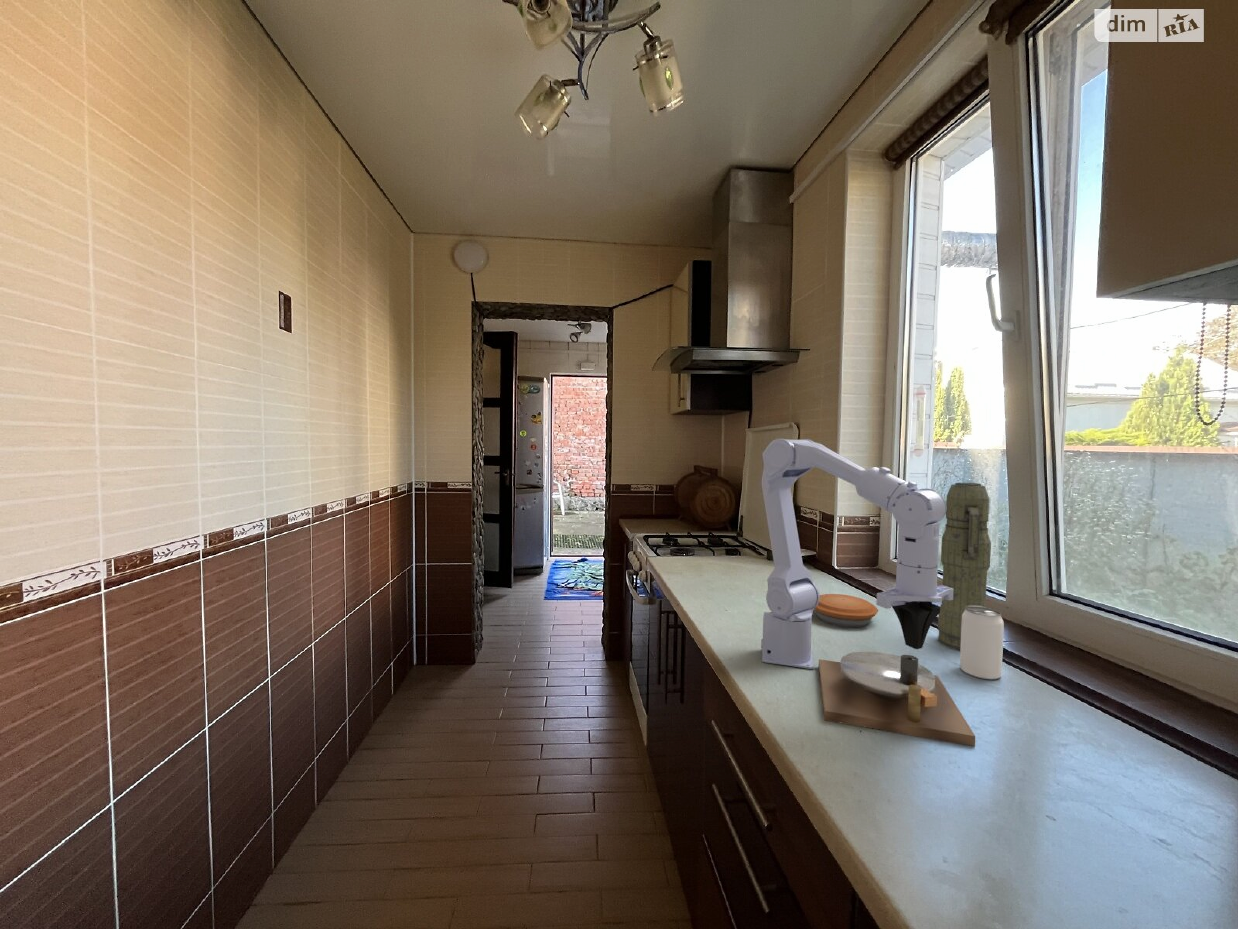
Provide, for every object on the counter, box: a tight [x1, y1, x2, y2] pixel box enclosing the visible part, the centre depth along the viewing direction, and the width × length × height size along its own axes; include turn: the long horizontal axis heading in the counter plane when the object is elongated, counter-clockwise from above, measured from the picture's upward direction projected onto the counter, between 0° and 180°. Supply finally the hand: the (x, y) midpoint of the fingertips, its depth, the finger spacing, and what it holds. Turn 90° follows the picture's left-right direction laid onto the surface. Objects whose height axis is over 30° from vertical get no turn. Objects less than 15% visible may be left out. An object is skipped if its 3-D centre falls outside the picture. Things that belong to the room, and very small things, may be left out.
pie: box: [813, 593, 880, 628], centre depth 125 cm, size 15×16×5 cm
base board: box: [818, 658, 976, 747], centre depth 85 cm, size 20×20×6 cm
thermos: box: [937, 482, 992, 651], centre depth 109 cm, size 9×12×35 cm
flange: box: [840, 650, 937, 707], centre depth 84 cm, size 16×14×6 cm
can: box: [959, 606, 1005, 681], centre depth 96 cm, size 6×6×12 cm
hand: (913, 646), depth 83 cm, fingers closed
